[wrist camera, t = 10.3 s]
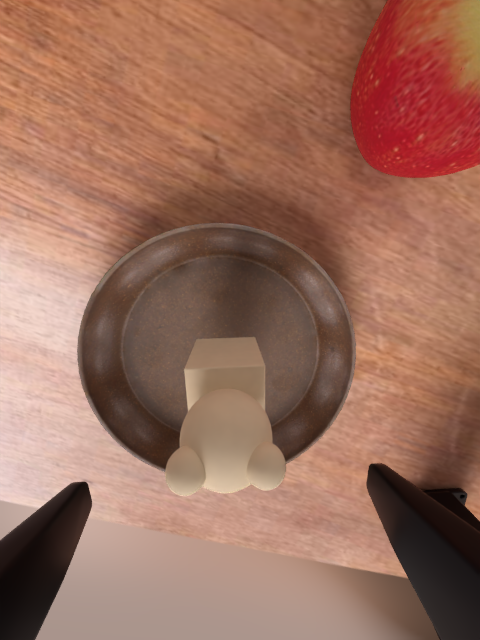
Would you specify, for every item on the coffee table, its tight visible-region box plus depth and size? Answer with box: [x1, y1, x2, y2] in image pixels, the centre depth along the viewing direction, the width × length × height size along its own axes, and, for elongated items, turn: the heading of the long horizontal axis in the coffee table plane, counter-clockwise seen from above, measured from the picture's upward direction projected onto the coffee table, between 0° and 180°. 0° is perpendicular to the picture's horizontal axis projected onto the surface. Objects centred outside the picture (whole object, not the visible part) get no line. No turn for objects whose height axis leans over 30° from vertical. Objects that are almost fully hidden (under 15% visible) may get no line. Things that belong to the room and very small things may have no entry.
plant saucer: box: [77, 223, 356, 472], centre depth 16 cm, size 18×18×3 cm
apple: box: [350, 0, 480, 178], centre depth 9 cm, size 8×8×10 cm
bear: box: [165, 337, 286, 496], centre depth 11 cm, size 4×4×8 cm
